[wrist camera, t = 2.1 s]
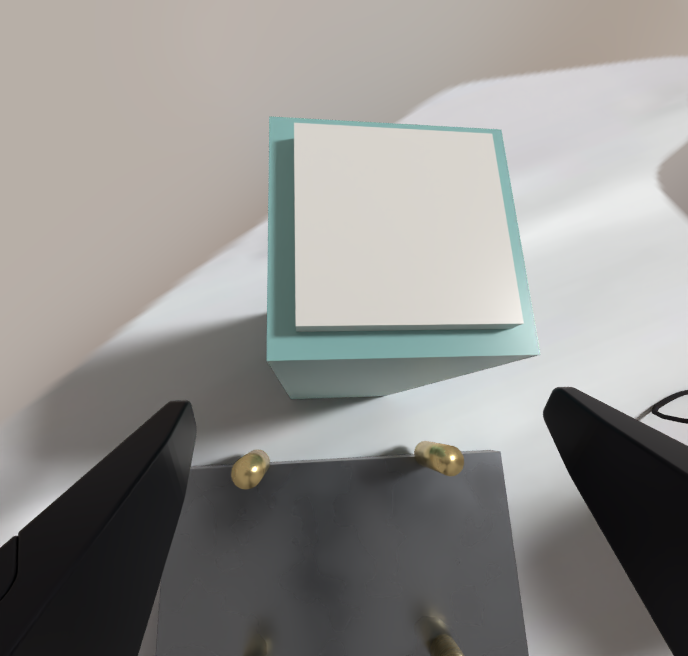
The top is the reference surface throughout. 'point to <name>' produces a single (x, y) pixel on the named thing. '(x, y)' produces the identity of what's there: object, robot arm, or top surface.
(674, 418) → the multimeter
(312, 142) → the plate
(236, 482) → the plate
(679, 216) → the top surface
